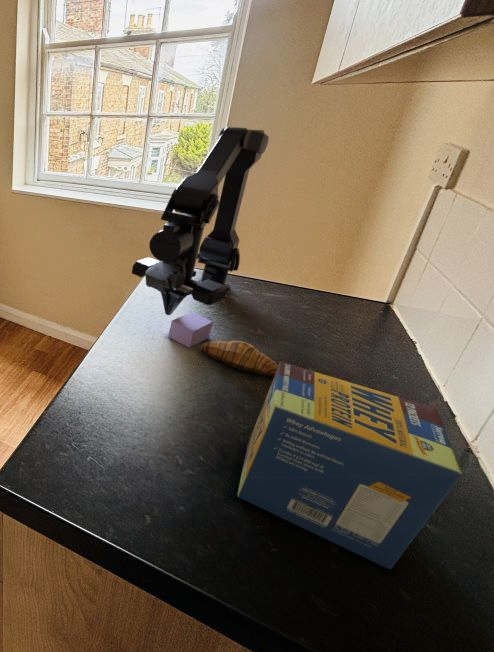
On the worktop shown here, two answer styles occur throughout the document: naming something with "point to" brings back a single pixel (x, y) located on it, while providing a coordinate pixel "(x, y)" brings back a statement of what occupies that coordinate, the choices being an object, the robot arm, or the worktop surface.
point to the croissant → (240, 356)
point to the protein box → (348, 462)
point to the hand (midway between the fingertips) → (168, 314)
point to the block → (190, 329)
